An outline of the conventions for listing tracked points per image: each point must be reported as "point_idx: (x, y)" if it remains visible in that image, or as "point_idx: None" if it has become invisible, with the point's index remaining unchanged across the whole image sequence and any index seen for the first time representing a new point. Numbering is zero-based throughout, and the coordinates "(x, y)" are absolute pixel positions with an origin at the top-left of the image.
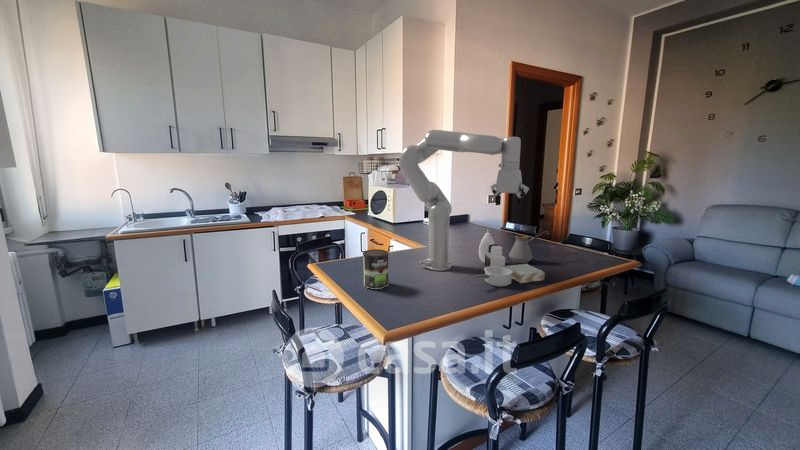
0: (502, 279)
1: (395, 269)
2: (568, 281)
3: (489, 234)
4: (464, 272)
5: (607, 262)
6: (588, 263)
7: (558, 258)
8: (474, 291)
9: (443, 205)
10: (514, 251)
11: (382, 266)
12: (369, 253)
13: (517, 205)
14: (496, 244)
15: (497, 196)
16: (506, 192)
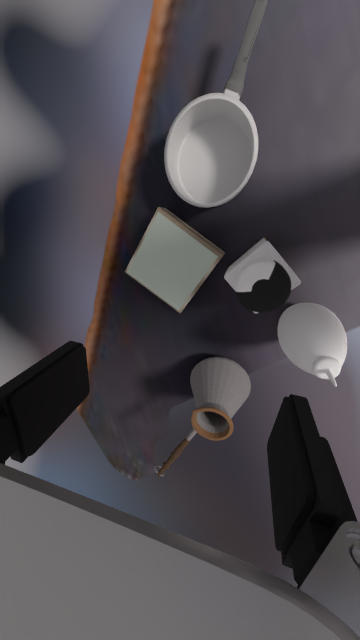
0: (185, 122)
1: None
2: (97, 289)
3: (316, 361)
4: (346, 183)
5: (91, 426)
6: (110, 411)
7: (159, 422)
8: (251, 10)
9: None
10: (229, 376)
11: None
12: None
13: (64, 347)
14: (263, 306)
15: (314, 508)
16: (69, 501)
